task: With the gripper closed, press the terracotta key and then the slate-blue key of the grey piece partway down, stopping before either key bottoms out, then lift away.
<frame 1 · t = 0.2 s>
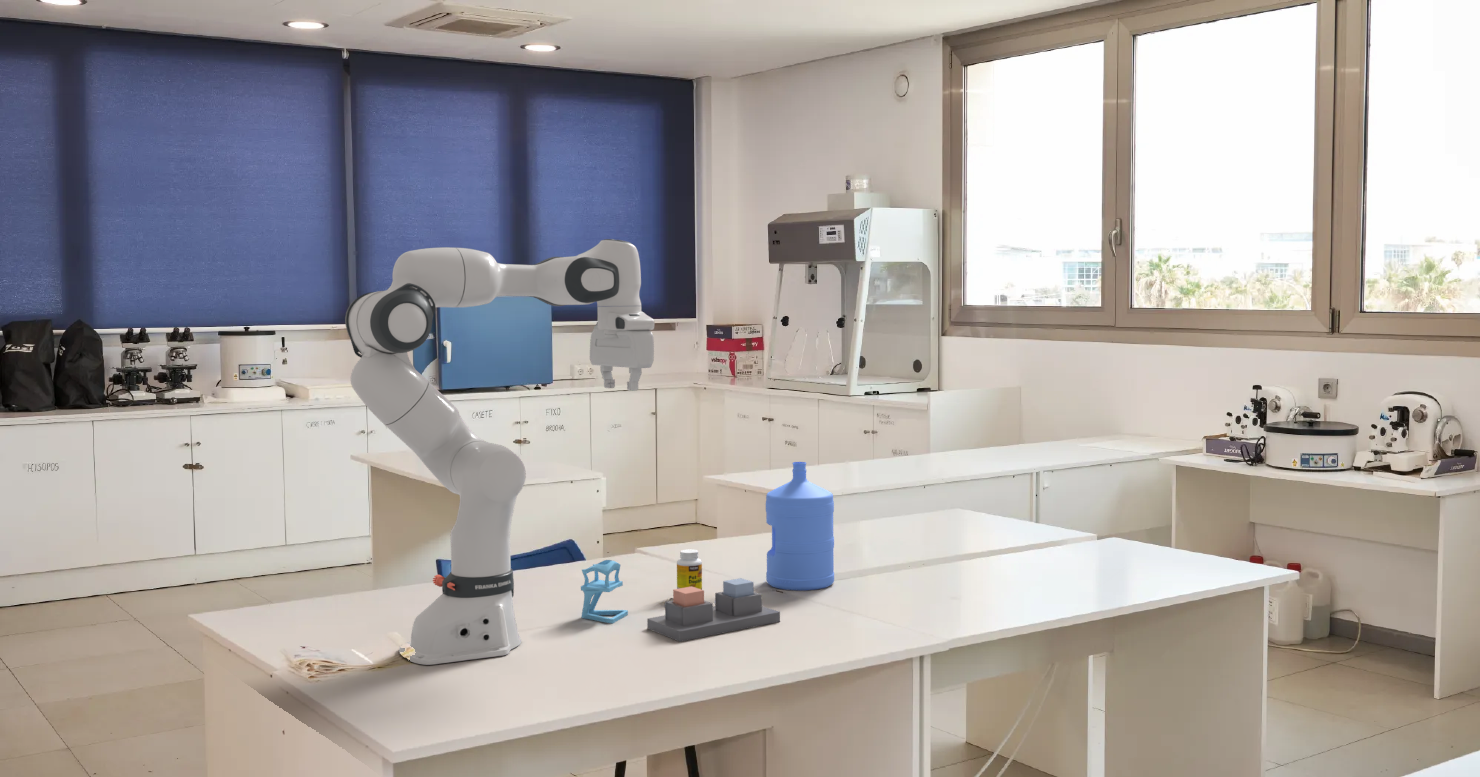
hand: (620, 389, 246), 47 cm above the table, fingers open, 8 cm apart
grey piece: (714, 624, 244), on the table
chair: (602, 618, 251), on the table
supplement bottle: (689, 597, 268), on the table
terracotta key: (688, 597, 240), point 7 cm above the table, slide at 0.0 cm
slate key: (738, 588, 247), point 7 cm above the table, slide at 0.0 cm
water jug: (800, 584, 279), on the table
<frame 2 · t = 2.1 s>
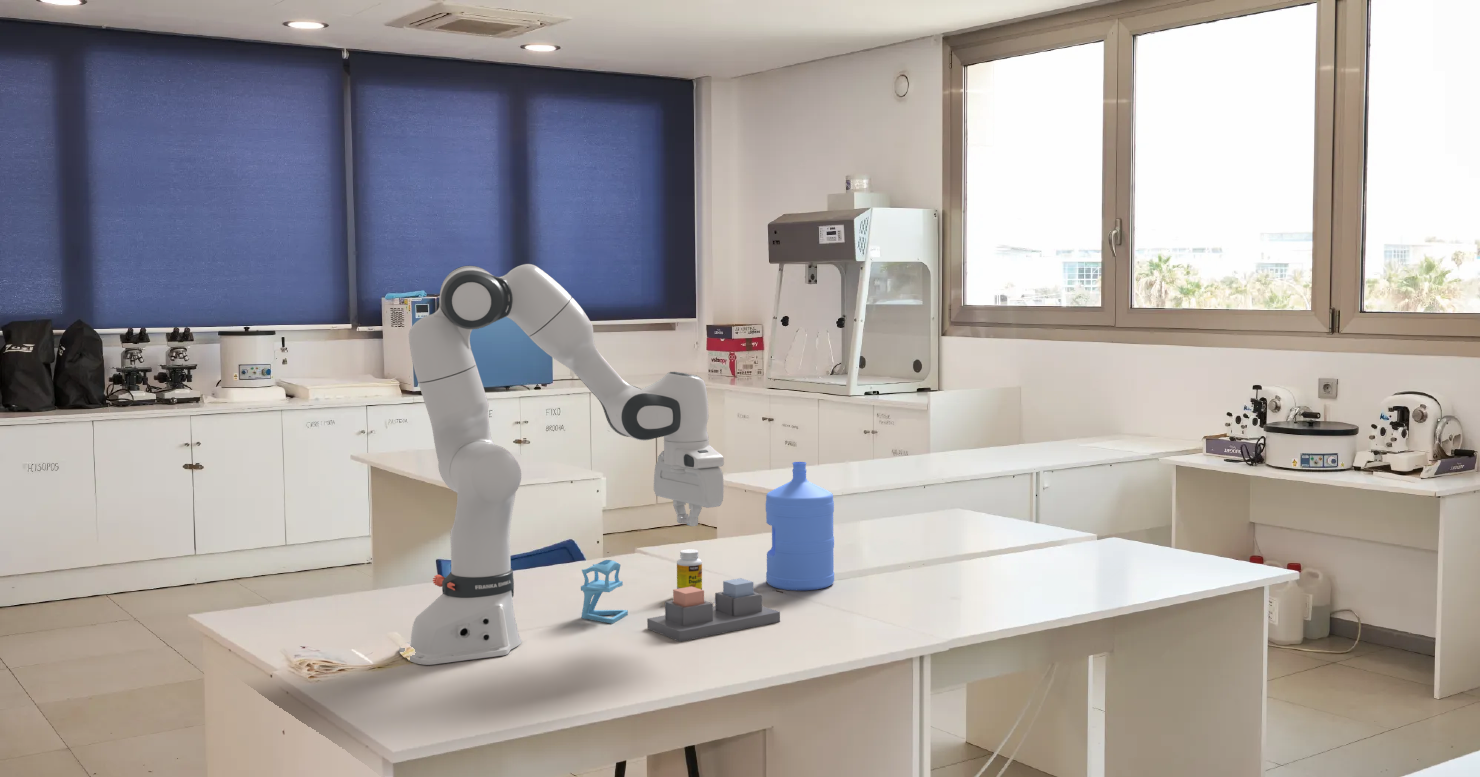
hand: (687, 524, 239), 21 cm above the table, fingers closed
nothing on the table moved.
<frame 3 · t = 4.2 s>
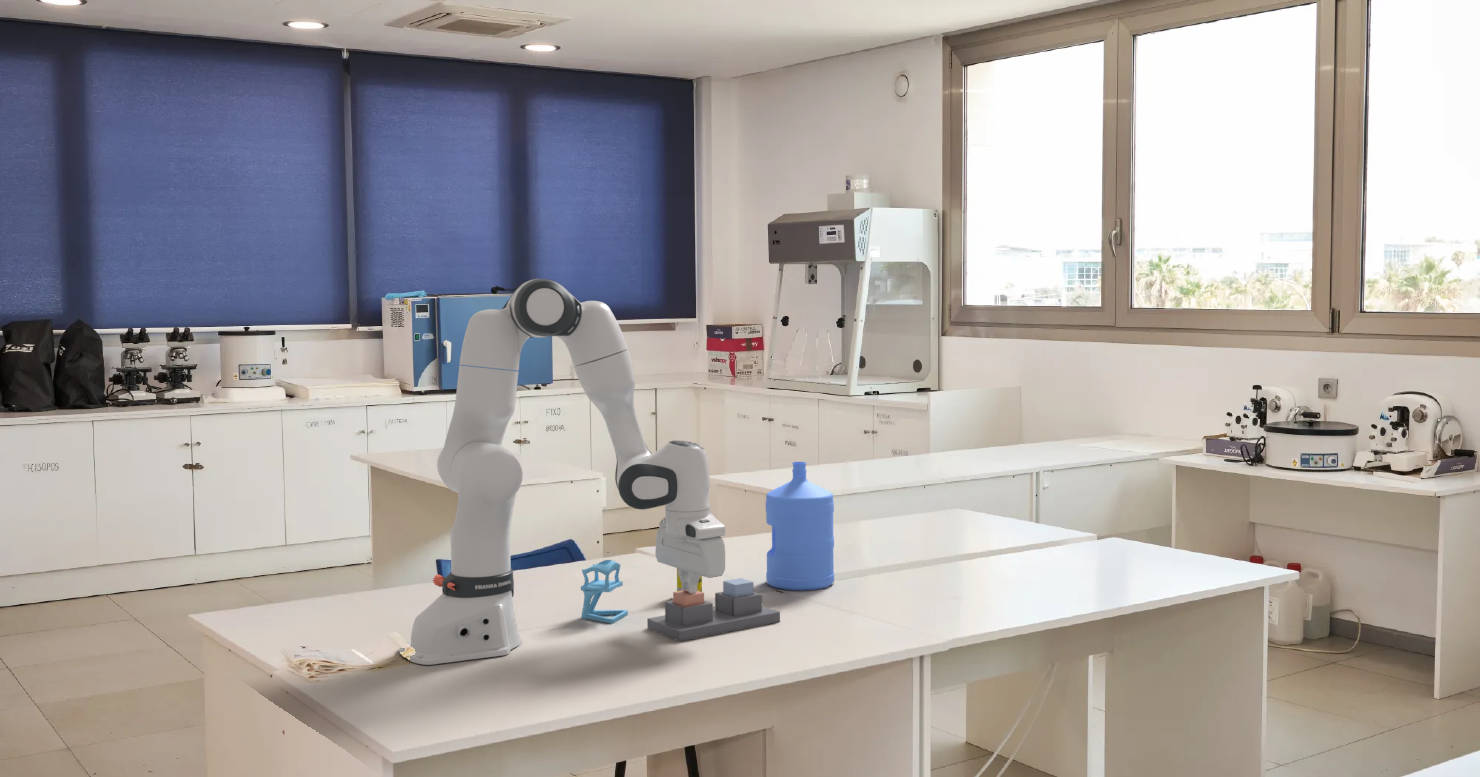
hand: (689, 592, 240), 8 cm above the table, fingers closed, pressing on terracotta key
terracotta key: (688, 599, 240), point 6 cm above the table, slide at 0.5 cm, touching gripper
everything else where it was.
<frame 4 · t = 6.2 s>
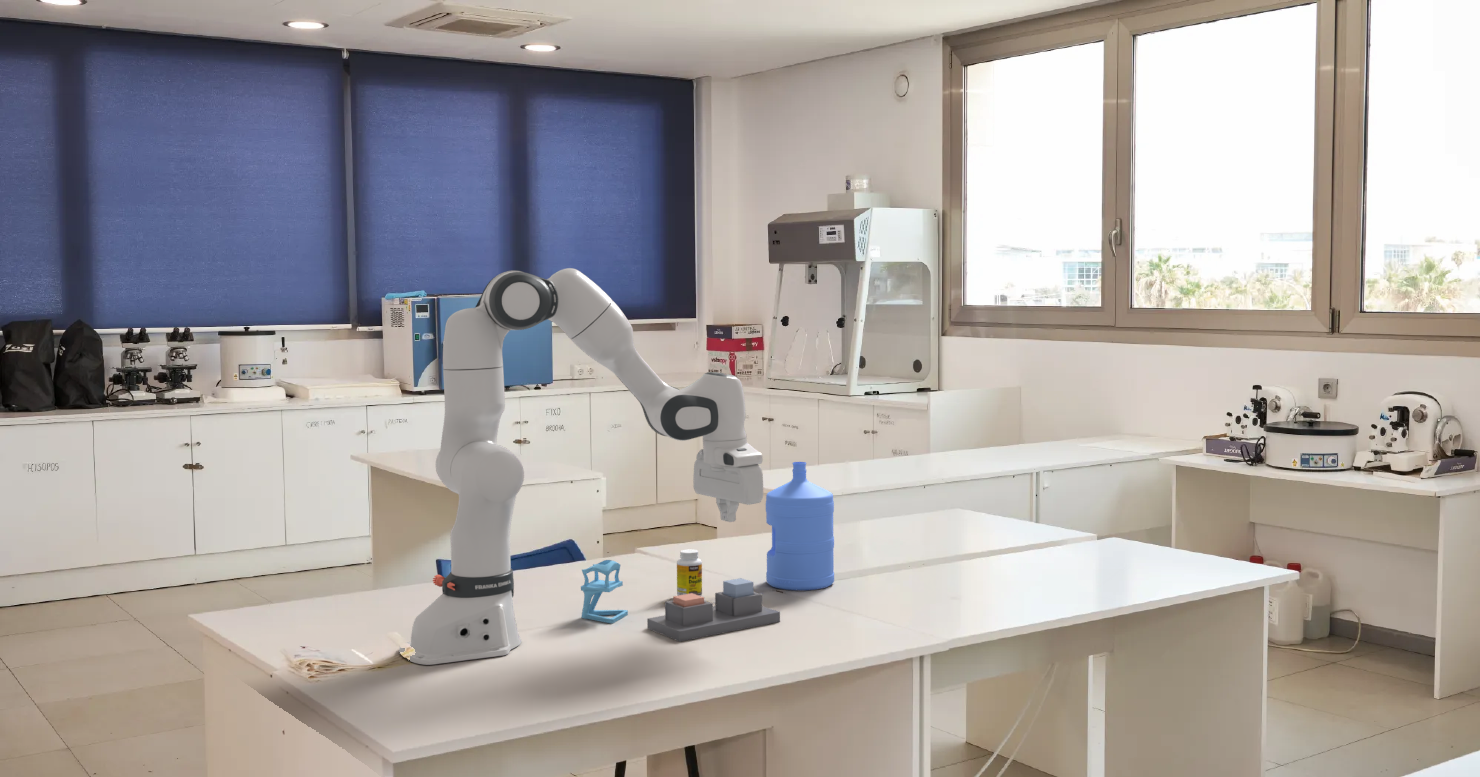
hand: (728, 520, 244), 21 cm above the table, fingers closed
terracotta key: (688, 604, 240), point 5 cm above the table, slide at 1.4 cm
everything else where it was.
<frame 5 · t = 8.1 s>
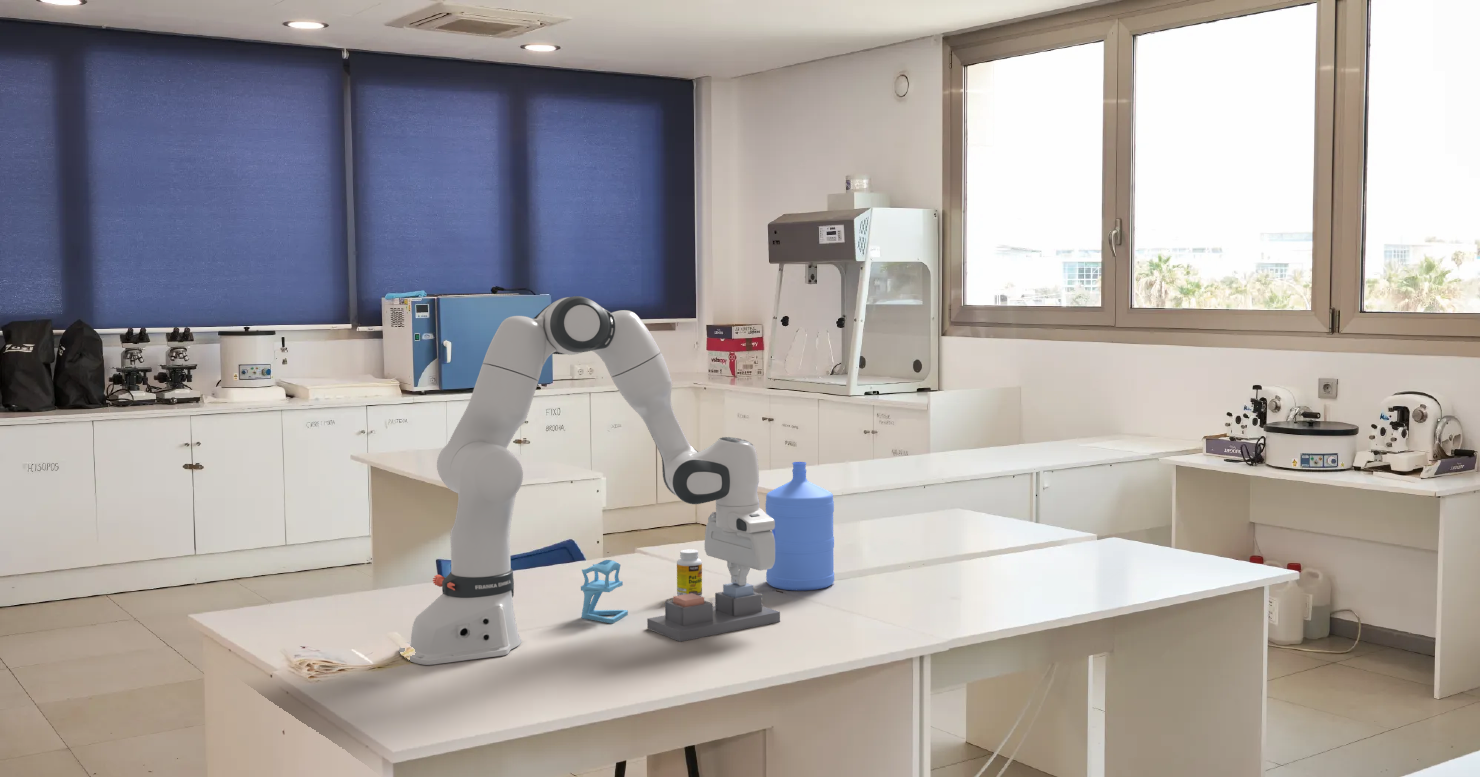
hand: (738, 584, 247), 7 cm above the table, fingers closed, pressing on slate key
slate key: (738, 592, 247), point 6 cm above the table, slide at 0.7 cm, touching gripper
everything else where it was.
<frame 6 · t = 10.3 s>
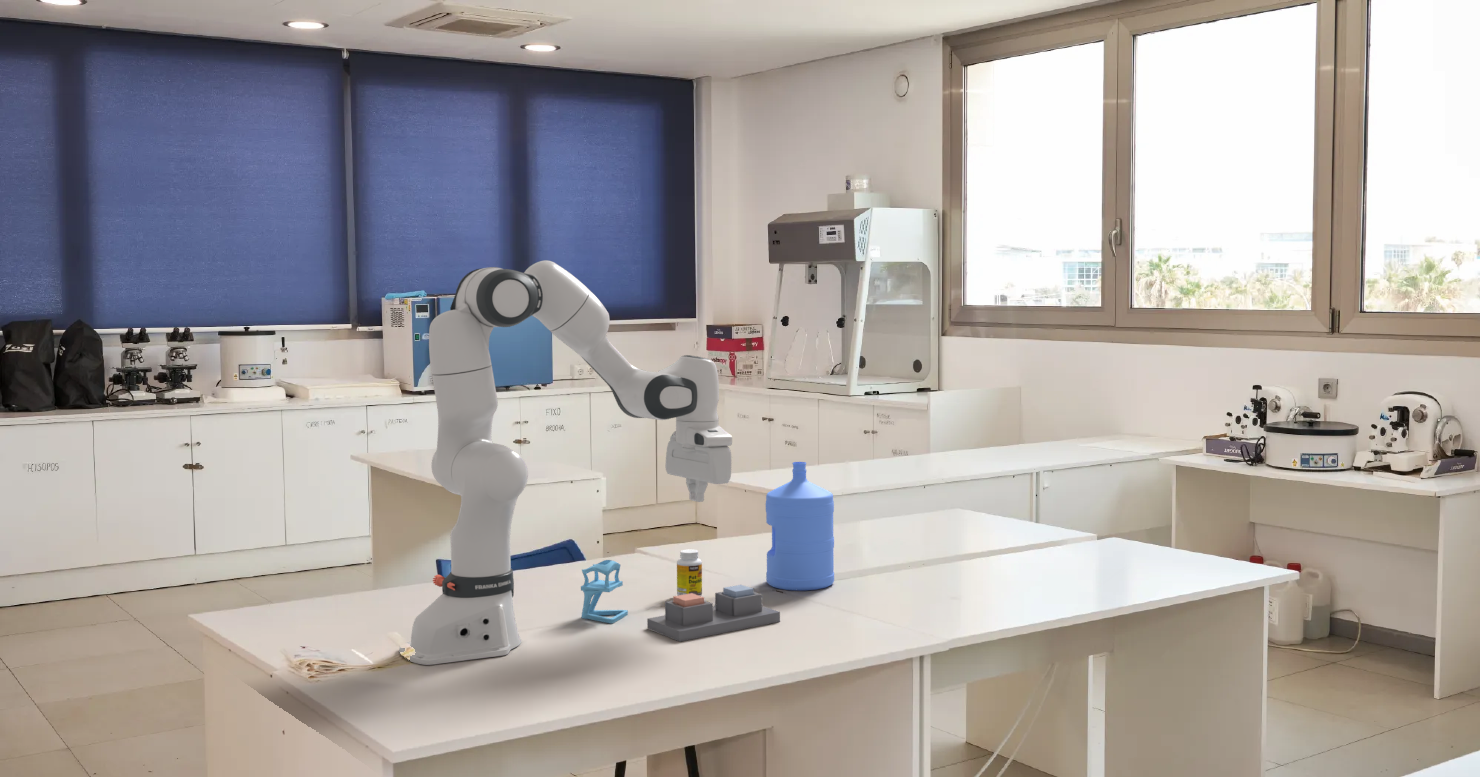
hand: (696, 500, 251), 24 cm above the table, fingers closed
slate key: (738, 595, 247), point 5 cm above the table, slide at 1.4 cm
everything else where it was.
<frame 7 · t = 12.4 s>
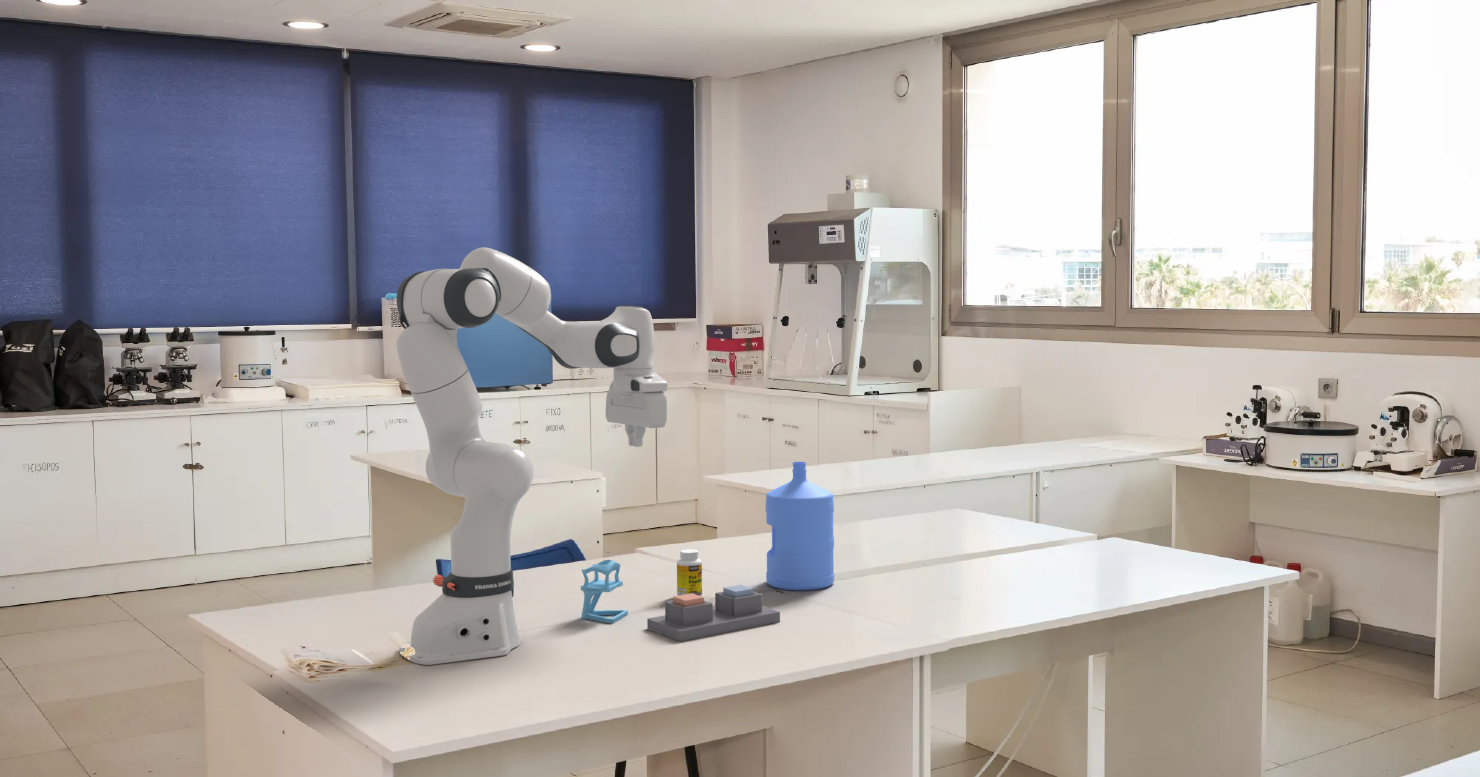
hand: (635, 446, 260), 34 cm above the table, fingers closed
nothing on the table moved.
at the end: terracotta key slide at 1.4 cm; slate key slide at 1.4 cm; supplement bottle moved 0.2 cm from its start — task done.
